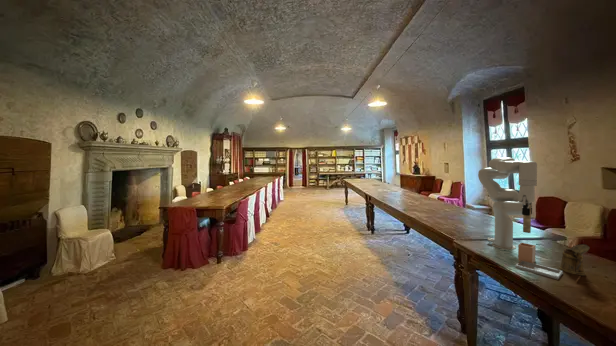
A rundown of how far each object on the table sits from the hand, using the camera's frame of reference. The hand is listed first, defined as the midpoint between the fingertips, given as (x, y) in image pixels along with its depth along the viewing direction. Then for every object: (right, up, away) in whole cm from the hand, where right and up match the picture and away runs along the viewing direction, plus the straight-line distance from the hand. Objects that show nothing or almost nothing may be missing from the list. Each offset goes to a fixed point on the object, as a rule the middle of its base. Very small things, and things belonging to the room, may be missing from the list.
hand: (527, 214), depth 131 cm
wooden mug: (+12, -29, -13) cm, 34 cm away
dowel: (0, -10, +1) cm, 10 cm away
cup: (+1, -28, +1) cm, 28 cm away
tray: (-4, -29, -10) cm, 31 cm away
